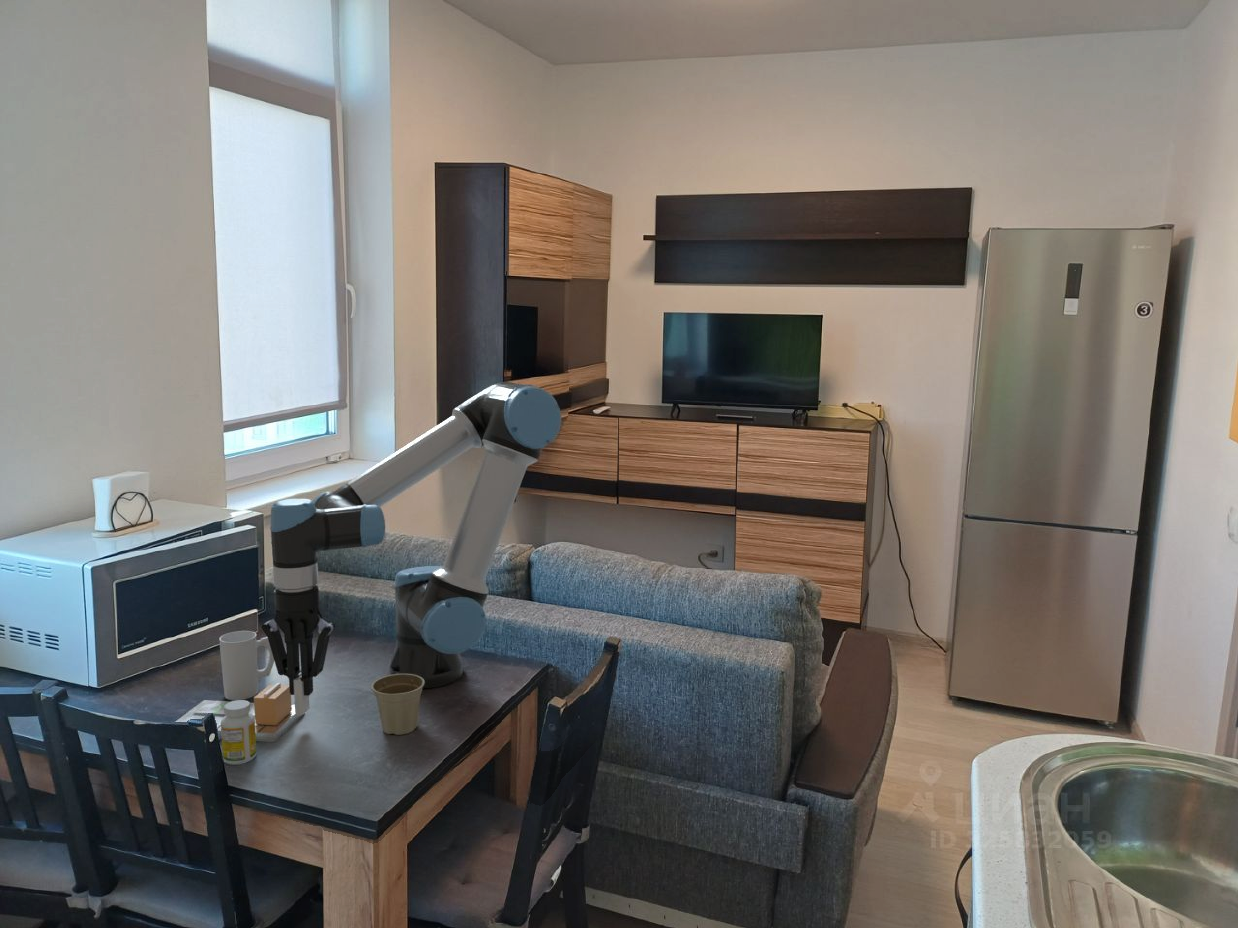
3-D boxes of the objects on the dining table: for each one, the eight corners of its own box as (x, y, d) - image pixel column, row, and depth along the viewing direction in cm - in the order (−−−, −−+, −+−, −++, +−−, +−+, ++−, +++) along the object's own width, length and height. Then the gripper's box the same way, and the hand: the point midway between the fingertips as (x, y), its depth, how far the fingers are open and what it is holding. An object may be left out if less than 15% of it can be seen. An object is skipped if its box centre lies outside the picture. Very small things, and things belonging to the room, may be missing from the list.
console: (304, 713, 173) (304, 704, 173) (274, 742, 161) (273, 733, 161) (204, 707, 175) (204, 699, 175) (167, 736, 163) (166, 727, 163)
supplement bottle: (232, 768, 152) (229, 714, 150) (217, 758, 155) (213, 705, 154) (263, 757, 156) (259, 703, 154) (247, 747, 159) (243, 695, 158)
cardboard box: (291, 710, 170) (290, 682, 169) (276, 724, 164) (274, 695, 163) (271, 709, 170) (269, 681, 169) (255, 723, 164) (253, 694, 163)
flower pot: (399, 744, 161) (397, 698, 159) (361, 731, 166) (360, 686, 164) (436, 724, 168) (435, 680, 167) (399, 712, 173) (398, 669, 172)
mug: (225, 703, 177) (221, 644, 175) (220, 691, 183) (216, 634, 181) (280, 693, 182) (276, 635, 180) (273, 681, 188) (270, 625, 186)
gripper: (340, 581, 166) (345, 704, 169) (271, 578, 167) (277, 700, 171) (322, 593, 158) (328, 721, 162) (251, 590, 159) (258, 718, 163)
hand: (302, 711), depth 166 cm, fingers closed
